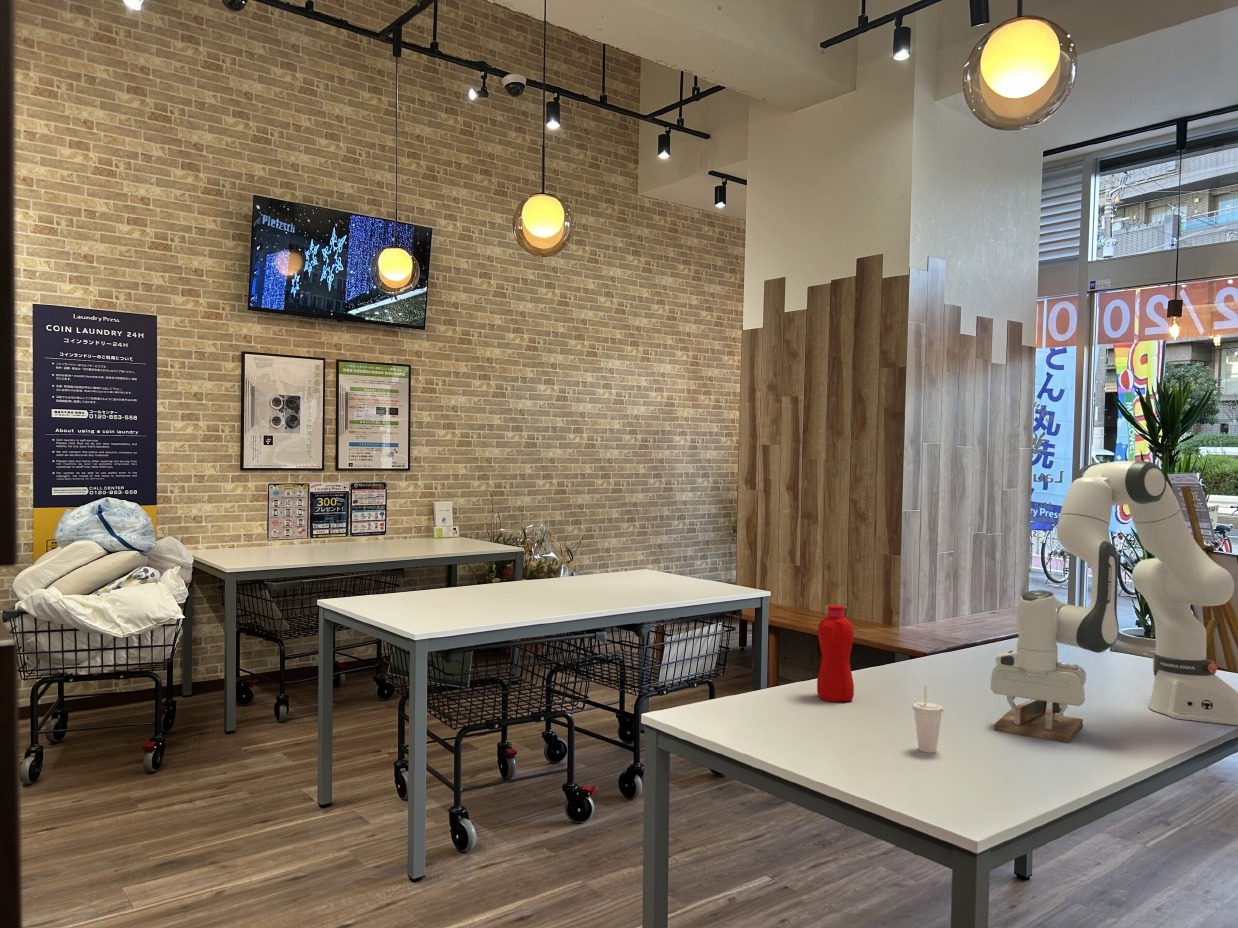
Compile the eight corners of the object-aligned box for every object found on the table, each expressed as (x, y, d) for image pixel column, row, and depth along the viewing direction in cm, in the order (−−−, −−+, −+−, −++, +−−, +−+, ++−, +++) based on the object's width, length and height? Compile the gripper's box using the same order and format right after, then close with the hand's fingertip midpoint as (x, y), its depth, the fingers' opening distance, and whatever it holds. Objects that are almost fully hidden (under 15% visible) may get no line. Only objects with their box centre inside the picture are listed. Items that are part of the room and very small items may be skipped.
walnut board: (1082, 724, 214) (1082, 718, 214) (1069, 742, 200) (1069, 736, 200) (1012, 713, 224) (1012, 707, 224) (994, 730, 209) (994, 723, 209)
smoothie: (918, 743, 198) (919, 681, 198) (947, 749, 194) (947, 685, 194) (907, 750, 193) (908, 686, 193) (936, 756, 189) (937, 691, 189)
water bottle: (848, 692, 243) (849, 602, 243) (855, 703, 232) (856, 608, 232) (814, 691, 244) (815, 601, 244) (819, 702, 233) (820, 607, 233)
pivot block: (1063, 717, 221) (1063, 690, 221) (1060, 720, 217) (1060, 694, 217) (1037, 713, 224) (1037, 687, 224) (1033, 716, 221) (1034, 690, 221)
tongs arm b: (1039, 711, 220) (1040, 694, 220) (1045, 712, 219) (1045, 695, 219) (1014, 723, 208) (1014, 706, 208) (1020, 724, 207) (1020, 707, 207)
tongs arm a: (1047, 712, 218) (1047, 696, 218) (1053, 713, 218) (1053, 696, 218) (1045, 729, 204) (1045, 711, 204) (1051, 730, 204) (1051, 712, 204)
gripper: (1088, 663, 206) (1087, 722, 206) (995, 652, 218) (995, 708, 218) (1083, 668, 201) (1083, 729, 200) (988, 656, 213) (988, 713, 213)
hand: (1036, 718), depth 209 cm, fingers open, 8 cm apart
